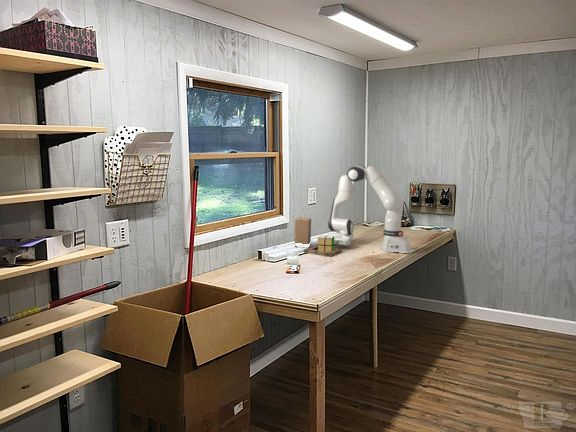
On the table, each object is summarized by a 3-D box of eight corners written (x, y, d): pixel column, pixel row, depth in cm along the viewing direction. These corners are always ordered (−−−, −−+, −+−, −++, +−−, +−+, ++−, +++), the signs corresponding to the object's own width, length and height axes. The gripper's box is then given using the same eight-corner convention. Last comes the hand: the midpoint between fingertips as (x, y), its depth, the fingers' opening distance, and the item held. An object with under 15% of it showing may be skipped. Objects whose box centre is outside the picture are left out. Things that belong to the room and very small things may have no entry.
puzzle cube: (319, 248, 351) (320, 234, 350) (333, 249, 349) (334, 235, 348) (317, 252, 342) (317, 237, 340) (331, 253, 339) (332, 238, 338)
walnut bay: (341, 252, 342) (341, 249, 342) (330, 256, 328) (330, 253, 328) (316, 248, 353) (316, 245, 353) (303, 252, 339) (303, 249, 338)
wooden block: (308, 248, 353) (309, 220, 350) (294, 247, 355) (294, 219, 352) (310, 245, 363) (311, 217, 359) (296, 244, 364) (297, 217, 361)
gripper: (326, 233, 366) (317, 236, 354) (352, 236, 355) (344, 239, 344) (326, 241, 367) (317, 244, 355) (352, 245, 356) (343, 248, 345)
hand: (330, 242), depth 349 cm, fingers closed
